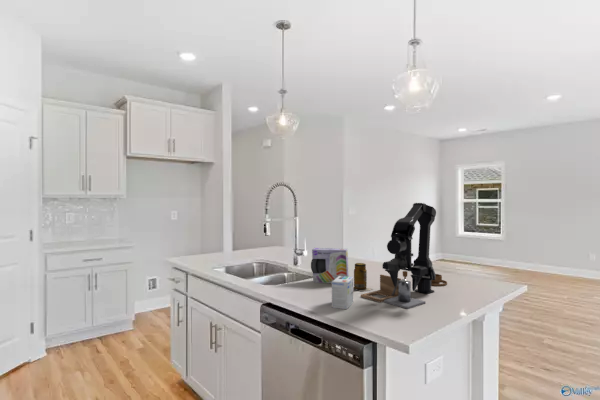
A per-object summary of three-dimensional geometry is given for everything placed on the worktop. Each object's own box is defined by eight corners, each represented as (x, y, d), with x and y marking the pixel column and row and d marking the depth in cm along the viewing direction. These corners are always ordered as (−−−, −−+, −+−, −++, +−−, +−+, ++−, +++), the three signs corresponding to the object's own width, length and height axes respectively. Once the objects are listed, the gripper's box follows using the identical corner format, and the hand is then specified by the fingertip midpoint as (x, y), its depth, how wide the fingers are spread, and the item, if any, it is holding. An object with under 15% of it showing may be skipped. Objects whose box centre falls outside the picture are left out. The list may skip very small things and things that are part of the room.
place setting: (438, 289, 174) (438, 277, 174) (400, 283, 188) (400, 271, 188) (452, 283, 187) (452, 272, 187) (416, 277, 201) (416, 267, 201)
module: (403, 298, 155) (403, 277, 155) (413, 301, 151) (413, 280, 151) (395, 300, 152) (395, 279, 152) (405, 303, 148) (405, 281, 148)
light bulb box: (338, 300, 155) (338, 275, 155) (353, 302, 153) (353, 276, 153) (331, 307, 145) (331, 280, 145) (347, 309, 143) (347, 282, 143)
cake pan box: (310, 282, 189) (310, 248, 189) (313, 280, 193) (313, 247, 193) (347, 285, 183) (347, 249, 182) (349, 282, 187) (348, 248, 187)
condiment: (361, 286, 180) (361, 262, 180) (372, 289, 173) (372, 264, 173) (349, 288, 177) (349, 263, 177) (360, 291, 169) (360, 266, 169)
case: (381, 291, 169) (381, 274, 169) (401, 296, 161) (401, 278, 161) (360, 296, 161) (360, 278, 161) (380, 302, 152) (380, 283, 152)
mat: (401, 297, 160) (401, 295, 160) (425, 303, 151) (425, 301, 151) (383, 302, 153) (383, 300, 153) (407, 308, 143) (407, 306, 143)
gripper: (374, 250, 154) (374, 287, 154) (411, 255, 139) (411, 296, 139) (390, 248, 161) (390, 283, 161) (428, 253, 146) (428, 291, 146)
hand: (404, 288), depth 151 cm, fingers open, 9 cm apart
